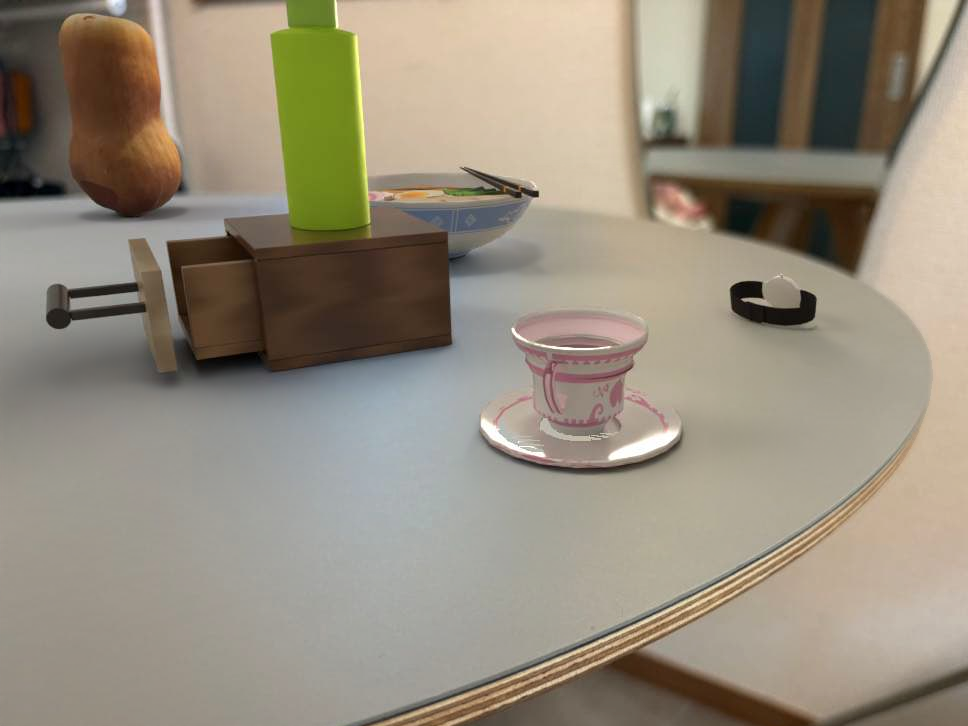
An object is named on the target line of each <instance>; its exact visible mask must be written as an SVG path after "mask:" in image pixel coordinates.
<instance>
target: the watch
mask: <svg viewBox="0 0 968 726" xmlns="http://www.w3.org/2000/svg"><path fill="white" fill-rule="evenodd" d="M729 299H730V308H731V311H732V312H733V313H734V314H736V315H737V316H739V317H741V318H744V319H746V320H748V321H750V322H755V323H758V324H768V325H772V326H783V327H784V326H785V327H789V326H790V327H792V326H801V325H805V324H807V323H810V322H812V321H814V319H815V317H816V312H817V301H818V297H817V296H816V295H815V294H814V293H812V292H810V291H807V290H804V289H803V288H800V287H799V285H798V284H797V283H796V282H795V280H793V279H792V278H790V277H787V276H785V275H784V273H779V275H777V276H773V277H772V278H770V279H768V280H767V281H766V282H765V281H763V280H762V281H759V280H742V281H738V282H736V283H734V284H732V285H731V286H730V288H729ZM745 299H762V300H765V301H766V302H767V303H768V304H769V305H770V306H768V305H762V304H759V303H756V302H755V303H754V302H752V301H748V300H746V301H745Z"/></svg>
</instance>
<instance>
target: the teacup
mask: <svg viewBox="0 0 968 726" xmlns="http://www.w3.org/2000/svg"><path fill="white" fill-rule="evenodd" d="M510 332H511V333H510V334H511V337H512V340H513V342H514V344H515V345H516V346H517V348H518V349H519V350H520V351H521V352H522V353H524V355H525V356H524V360H525V363H526V365H527V366H528V368H529V370H530V371H531V373H532V382H533V384H532V385H530V386H526V387H523V388H520V389H517V390H516V389H515V390H513V391H510V392H507V393H504V394H503V395H501V396H499V397H498V398H496V399H493V400H491V401H490V402H488V404H487V405H486V406H485V407H484V408H483V410H482V411H481V412H480V413H479V433H480V434H481V435H482V437H483V438H484V439H485V440H486V442H488V444H489V445H490V446H492V447H494V448H495V449H497V450H500V451H501V452H503V453H505V454H507V455H509V456H510V457H514V458H517V459H521V460H525V461H527V462H532V463H536V464H539V465H543V466H544V465H545V466H553V467H554V466H555V467H562V468H572V469H589V468H590V469H591V468H594V469H595V468H614V467H619V466H626V465H630V464H635V463H640V462H645V461H647V460H650V459H652V458H654V457H657V456H659V455H661V454H663V453H666V452H668V451H669V450H670V449H671V448H672V447H673V446H675V444H677V443H678V442H679V441H680V440H681V436H682V431H683V428H684V426H683V425H684V422H683V420H682V418H681V416H680V415H679V412H678V411H677V410H676V409H675V408H674V407H673V406H671V405H670V404H668V403H667V402H665V401H664V400H663V399H661V398H659V397H657V396H654V395H651V394H649V393H646V392H643V391H641V390H639V389H634V388H630V387H625V379H626V375H627V373H628V372H629V371H631V370H632V369H633V368H634V367H635V365H636V361H635V359H634V356H635V355H637V354H638V353H639V352H640V351H641V350H643V348H644V346H646V344H647V342H648V339H649V325H648V324H647V323H646V321H645V320H643V319H642V318H641V317H639V316H638V315H635V314H633V313H630V312H628V311H624V310H621V309H614V308H609V307H600V306H561V307H553V308H547V309H543V310H538V311H534V312H531V313H528V314H526V315H523V316H522V317H520V318H518V319H517V320H515V322H514V323H513V324H512V325H511V327H510ZM503 416H504V417H503ZM501 417H503V418H506V419H503V420H506V421H508V422H503V423H506V424H505V425H506V426H509V427H504V428H506V429H512V430H507V431H510V432H517V433H516V435H520V436H532V437H513V438H517V439H525V440H526V439H531V440H540V441H518V443H519V442H526V443H533V444H540V445H544V446H519V447H518V446H517V445H515V444H513V443H511V442H508V441H507V440H506V438H504V437H503V436H502V435H501V434H499V432H498V430H500V429H499V428H498V427H499V425H498V424H499V423H498V422H499V420H502V419H501ZM543 418H547V419H548V421H549V423H550V425H551V427H552V428H553V429H554V430H556V431H557V432H559V433H563V434H565V435H572V436H589V435H590V437H595V438H601V440H592V439H591V441H570V440H563V439H559V438H556V437H553V436H551V435H548V434H546V433H545V432H544V431H543V430H542V429H541V428H540V422H541V421H542V420H543ZM503 420H502V421H503ZM608 431H609V432H608ZM518 432H519V433H518ZM614 432H618V433H614ZM600 433H612V434H615V435H613V436H612V435H606V434H600ZM591 435H598V436H602V435H604V436H609V437H608V438H603V437H597V436H591ZM520 447H531V448H535V449H543V450H542V451H544V452H531V451H527V450H525V449H522V448H520Z"/></svg>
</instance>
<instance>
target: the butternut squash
mask: <svg viewBox="0 0 968 726" xmlns="http://www.w3.org/2000/svg"><path fill="white" fill-rule="evenodd" d="M147 31H148V30H146V29H145V28H143V27H142V26H141V25H140V24H138V23H137V22H135V21H132V20H129V19H127V18H121V17H117V16H116V17H115V16H110V15H102V14H98V13H91V12H90V13H89V12H88V13H75V14H72V15H70V16H68V17H67V18H65V20H64V21H63V23H62V25H61V27H60V30H59V34H58V44H59V49H60V54H61V62H62V74H63V79H64V80H63V81H64V83H65V88H66V94H67V100H68V105H69V113H70V118H71V136H70V139H69V147H68V151H69V153H68V154H69V155H68V164H69V168H70V173H71V177H72V178H73V180H75V182H76V183H77V184H78V186H79V187H80V189H81V190H82V191H83V192H84V193H85V194H86V195H87V196H88V198H90V200H91V201H93V203H95V204H96V205H98V206H100V207H102V208H105V209H107V210H111V211H114V212H115V213H117V214H118V215H120V216H121V215H122V216H121V217H133V216H139V217H142V216H145V215H147V214H148V213H150V212H152V211H155V210H157V209H159V208H162V207H163V206H164V205H166V204H167V203H168V202H169V201H171V200H172V198H173V197H174V196H175V195H176V193H177V192H178V190H179V188H180V186H181V181H182V175H183V170H182V169H183V168H182V161H181V158H180V154H179V151H178V149H177V146H176V144H175V142H174V140H173V138H172V136H171V134H170V133H169V131H168V129H167V127H166V125H165V123H164V121H163V119H162V118H163V117H162V114H161V101H162V85H161V76H160V70H159V65H158V58H157V52H156V47H155V44H154V42H153V38H152V37H151V36H150V34H149V33H148V32H147Z"/></svg>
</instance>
